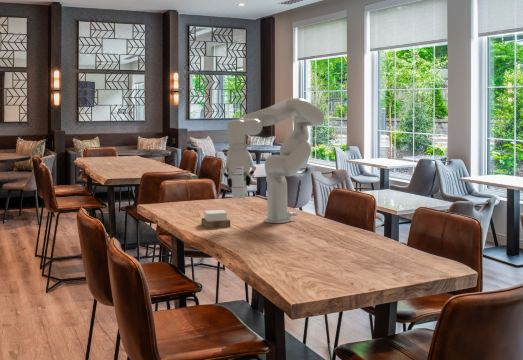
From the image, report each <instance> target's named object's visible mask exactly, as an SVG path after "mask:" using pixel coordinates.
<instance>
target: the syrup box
mask: <svg viewBox="0 0 523 360" xmlns="http://www.w3.org/2000/svg"><path fill="white" fill-rule="evenodd" d="M246 177H247V175H246V172H244V167H243V166H237V167H236V171H235V173H232V176H231V179H232V188H231V194H232V195H231V196H232V197H231V198H232V199H245V198H247V197H248V186H247V181H246Z"/></svg>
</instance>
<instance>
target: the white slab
mask: <svg viewBox="0 0 523 360" xmlns="http://www.w3.org/2000/svg"><path fill="white" fill-rule="evenodd" d="M203 213H204V215H203V216H204V217H203V218H205V219H206V220H207V222H208V221H225V220H227V219H228V212H227V211H225V210H224V209H215V210H213V209H212V210H204V211H203Z"/></svg>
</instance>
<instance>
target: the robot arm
mask: <svg viewBox="0 0 523 360" xmlns="http://www.w3.org/2000/svg"><path fill="white" fill-rule="evenodd" d="M289 118H292V120H293V130H292V132H291V133H290V135H288V137H287V138H286V139H285V141H284V142H283V143H282V145H280V147H279V154H272V155H269V156H268V157H266V159H265V161H264V169H265V175H266V189H267V190H266V193H267V194H266V195H267V196H266V197H267V198H266V199H267V200H266V201H267V203H266V206H267V207H266V209H267V214H266V215H267V217H264V218H263V220H264V222H265V223H270V224H285V223H289V222H291V220H292V219H291V217H297V216H298V213H297V211H296V212H295V211H293V212H290V211H288V181H287V179H286V177H293V176H295V175H296V174H297V173H298V172H299V171H300V170H301V169H302V167H303V166H304V165H305V163H306V162H307V161H308V160H309V158H310V157H311V155H312V154H311V152H312V147H311V144H310V143H309V142H308V141H309V138H310V137H309V136H310V135H309V129H308V127H317V126H321V125H322V124H323V122H324V119H325V116H324V112H323V110H322V109H321V108H320V107H318V106H316V105H314V104H313V103H312V102H310V101H308V100H306V99H304V98H302V97H301V98H298V97H295V98H294V97H293V98H285V99H284V100H281V101H279V102H277V103H274V104H273V105H270V106H268V107H265V108H262V109H259V110H257V111H253V112H250V113H247V114H245V115H243V116H241V117H238V118H237V119H231V120H229V121H228V123H227V126H228V127H227V128H228V130H227V131H228V133H227V134H228V150H227V151H226V159H225V160H226V161H225V162H226V163H225V164H226V165H224V166H223V167H222V168H220V172H221V174H222V175H223V176H224V177H226V181H227V184H226V185H227V186H228V188H230V189H232V179H231V176H232V173H235V171H236V167H237V166H243V167H244V172H246V181H247V187H250V186H251V184H252V183H251V179H252V178H251V177H252V176H253V175H254V173H255V172H256V170H257V167H256V166H255V165H253V164H252V163H250V157H249V151H248V149H247V148H249V147H250V144H249V143H248V144H247V141H246V135H247V136H256V135H259V134H260V133H261V132H262V131H263V127H268V126H273V125H277V124H279V123H281V122H283V121H285V120H286V119H289Z"/></svg>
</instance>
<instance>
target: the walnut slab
mask: <svg viewBox="0 0 523 360" xmlns="http://www.w3.org/2000/svg"><path fill="white" fill-rule="evenodd" d="M200 221H201V225H202V227H204V228H206V229H217V228H219V229H220V228H231V220H230V219H229V218H227V220H225V221H208V222H207V220H206V219H205V218H204V217H201V220H200Z"/></svg>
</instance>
